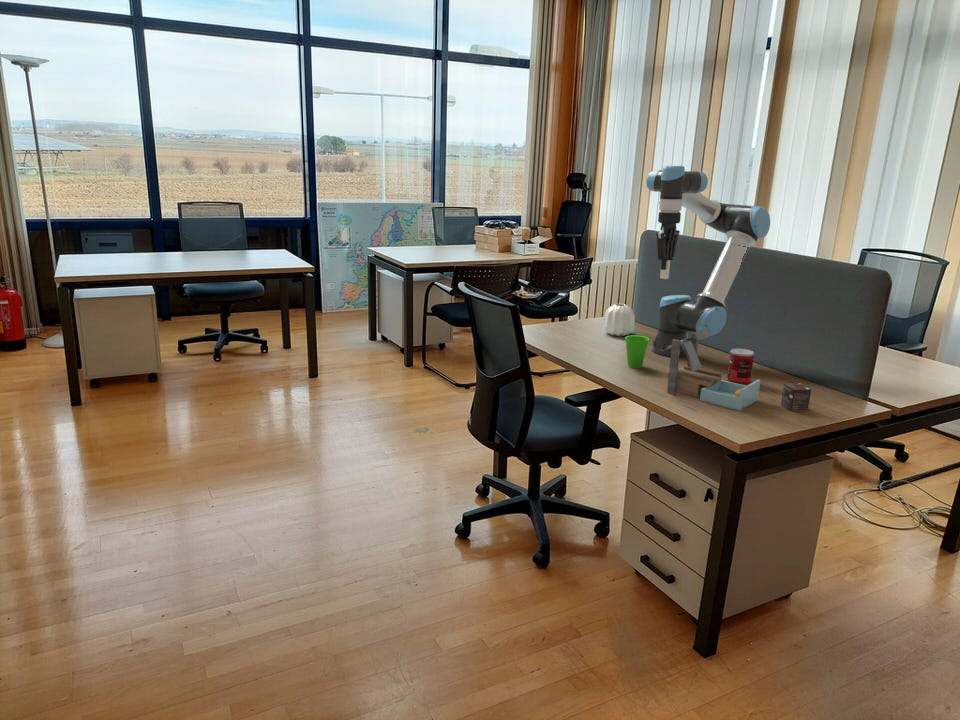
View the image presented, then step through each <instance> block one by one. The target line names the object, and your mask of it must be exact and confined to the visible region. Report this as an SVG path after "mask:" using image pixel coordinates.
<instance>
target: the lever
mask: <svg viewBox="0 0 960 720" xmlns="http://www.w3.org/2000/svg"><path fill="white" fill-rule="evenodd" d="M690 336H691V335H690ZM690 336H688V338H686V339H683V340H681V342H680V345H682V347H683V350H684V352H685V354H686V355H685V357H686V359H687V363H688V362H689V364H690V366H691V369H692V371H696V370H698V369H702V368H703V366H702V364H701V361H700V359H699V357H698V353H697V354H696V352H695V349H694V347H693V345H692V342H691V341H692V340H694V339H696V338H697V340H698V342H700V341H701V340H704V339H707V338H709V337H711V336H710V335H709V333H708V331H707V328H705V329H702V330H700V331H697V332H695V336H691V337H690ZM670 348H672V345H669V346H666V347H663V348H661V349H658V350H656V351H654V352H653V354H657V352H660V351H665V350H667V349H670Z"/></svg>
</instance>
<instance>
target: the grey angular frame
mask: <svg viewBox="0 0 960 720" xmlns="http://www.w3.org/2000/svg"><path fill="white" fill-rule="evenodd" d="M691 336H695V332H691V331H690V336H689V337H691ZM680 342H681V341H680V340H675V339H673V340H672V348H671V356H670V358H669V359H670V360H669V362H670V363H669V370H668V371H669V372H668V374H667V375H668V377H667V394H670V395H676V394H677V393H680V394H684V395H689V396H692V397H696V398H698V397H700V394H701V389H702V388H704V387H706V386H709V387H711V386H713V385H715V384H717V383H718V382H720V381H721V380H722V375H723V374H722V373H719V372H718V373H717V372H715V371H709V370H705V369H702V368H700V369H698V370H696V371H692V369H691V366H690V364H689V362H688V361H687V366H686V365H685V366H684V368H683V367H679V362H680V356H679V353H680ZM691 342H692V345H693V347H694V349H695V352H696V354H697V355H698V347H699V341H698V340H697V338H696V339H694V340H692V341H691Z"/></svg>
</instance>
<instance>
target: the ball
mask: <svg viewBox="0 0 960 720" xmlns="http://www.w3.org/2000/svg"><path fill="white" fill-rule="evenodd" d="M740 391H741V389H740V390H737V391H736V392H735V397H740Z"/></svg>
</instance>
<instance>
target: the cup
mask: <svg viewBox="0 0 960 720" xmlns="http://www.w3.org/2000/svg"><path fill="white" fill-rule="evenodd" d="M624 340H625V346H626V355H627V357H626V358H627V365H628V367H629V368H632V369H640V368H642V367H643V365H644V361H645V356H646V351H647V347H648V343H649V341H650V340H651V339H650V338H649V337H648V336H643V335H638V334H635V335H633V334H632V335H631V334H629V335H625V337H624Z"/></svg>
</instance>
